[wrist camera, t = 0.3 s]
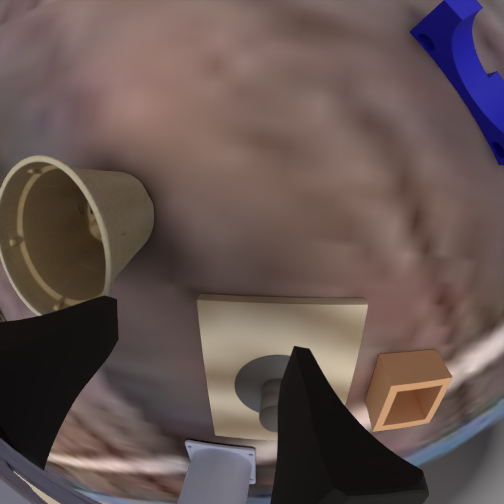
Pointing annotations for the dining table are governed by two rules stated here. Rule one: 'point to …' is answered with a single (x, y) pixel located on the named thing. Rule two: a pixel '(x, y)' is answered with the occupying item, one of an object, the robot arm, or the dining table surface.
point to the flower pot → (69, 230)
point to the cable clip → (465, 66)
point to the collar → (402, 379)
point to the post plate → (271, 353)
